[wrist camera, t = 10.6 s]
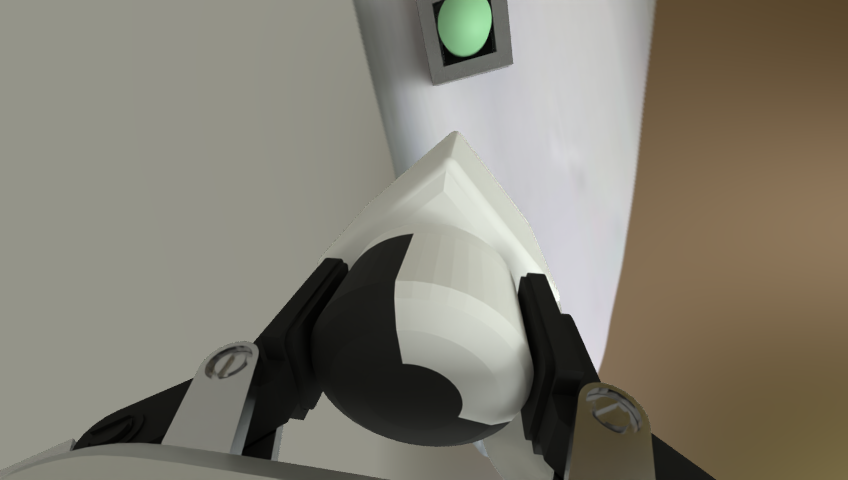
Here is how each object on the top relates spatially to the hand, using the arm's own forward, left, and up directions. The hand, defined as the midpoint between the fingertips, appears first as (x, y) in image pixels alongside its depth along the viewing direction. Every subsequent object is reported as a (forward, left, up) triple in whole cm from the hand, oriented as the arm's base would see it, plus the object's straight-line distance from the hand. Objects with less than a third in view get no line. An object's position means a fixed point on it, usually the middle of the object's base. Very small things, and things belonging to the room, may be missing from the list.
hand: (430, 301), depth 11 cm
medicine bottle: (0, 0, -8) cm, 8 cm away
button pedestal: (+6, -10, -25) cm, 28 cm away
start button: (+6, -10, -23) cm, 26 cm away
